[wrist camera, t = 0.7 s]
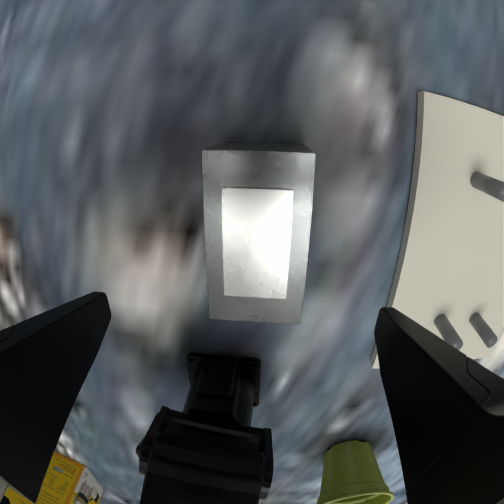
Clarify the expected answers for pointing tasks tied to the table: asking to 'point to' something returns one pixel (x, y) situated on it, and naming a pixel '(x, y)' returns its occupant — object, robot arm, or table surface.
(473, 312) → the peg board
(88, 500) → the packaging box
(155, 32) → the table surface
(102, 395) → the table surface
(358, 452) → the plant pot
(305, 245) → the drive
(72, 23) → the table surface
